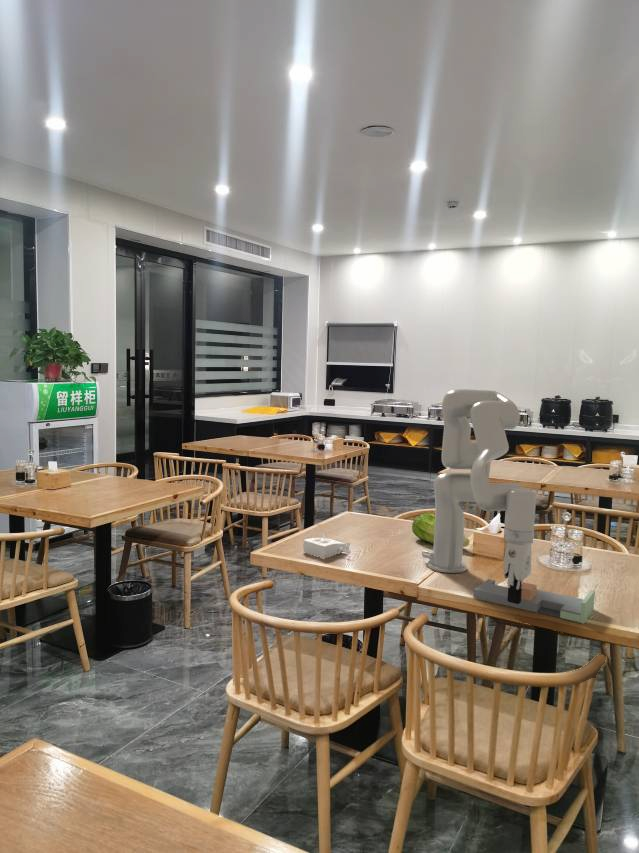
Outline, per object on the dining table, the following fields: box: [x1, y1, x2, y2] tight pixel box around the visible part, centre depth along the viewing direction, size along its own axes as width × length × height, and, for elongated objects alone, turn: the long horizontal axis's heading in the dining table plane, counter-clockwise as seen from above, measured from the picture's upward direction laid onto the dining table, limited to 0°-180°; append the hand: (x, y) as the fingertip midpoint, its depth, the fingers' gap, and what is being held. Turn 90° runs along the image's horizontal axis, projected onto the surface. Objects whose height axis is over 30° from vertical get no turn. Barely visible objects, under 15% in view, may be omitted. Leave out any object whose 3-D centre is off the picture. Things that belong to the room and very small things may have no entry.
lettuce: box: [411, 512, 470, 548], centre depth 239 cm, size 12×24×13 cm
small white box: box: [302, 533, 351, 559], centre depth 224 cm, size 8×20×16 cm
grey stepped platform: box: [472, 578, 596, 624], centre depth 180 cm, size 30×13×6 cm, turn 56°
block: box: [521, 581, 538, 601], centre depth 179 cm, size 6×6×3 cm
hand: (514, 602), depth 172 cm, fingers closed
